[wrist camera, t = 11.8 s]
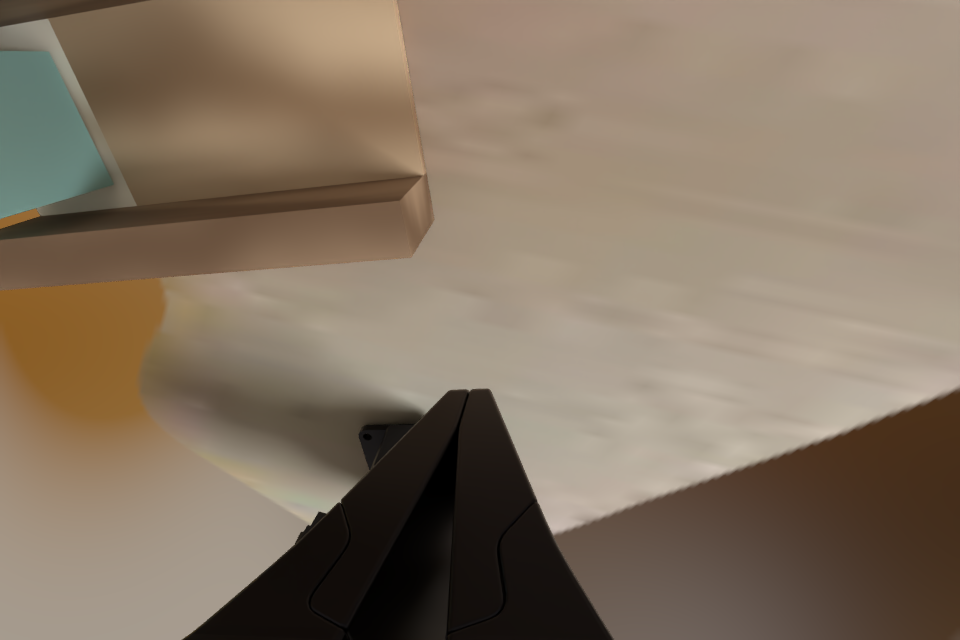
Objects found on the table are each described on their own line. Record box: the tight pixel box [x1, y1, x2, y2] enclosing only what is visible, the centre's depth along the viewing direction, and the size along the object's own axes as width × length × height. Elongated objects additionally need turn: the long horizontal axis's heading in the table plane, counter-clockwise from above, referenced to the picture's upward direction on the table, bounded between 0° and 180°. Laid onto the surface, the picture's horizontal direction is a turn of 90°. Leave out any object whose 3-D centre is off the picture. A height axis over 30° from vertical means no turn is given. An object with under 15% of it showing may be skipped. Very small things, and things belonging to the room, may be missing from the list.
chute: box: [0, 0, 434, 290], centre depth 17 cm, size 11×18×4 cm, turn 97°
